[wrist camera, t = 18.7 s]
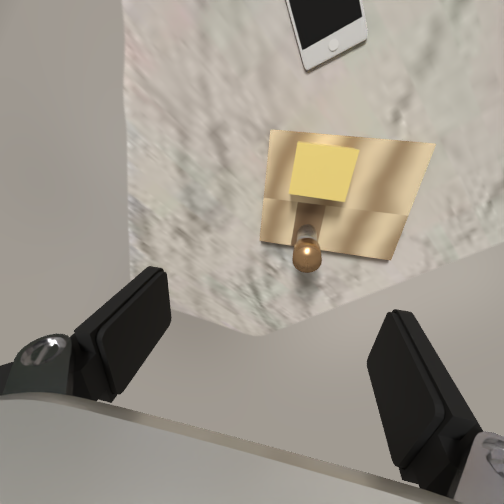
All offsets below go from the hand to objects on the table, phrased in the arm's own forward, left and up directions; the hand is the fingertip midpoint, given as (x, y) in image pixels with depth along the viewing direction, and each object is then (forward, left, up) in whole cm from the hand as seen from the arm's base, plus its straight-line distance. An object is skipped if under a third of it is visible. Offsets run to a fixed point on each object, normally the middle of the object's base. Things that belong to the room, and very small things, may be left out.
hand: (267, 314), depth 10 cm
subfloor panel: (-6, +1, -28) cm, 29 cm away
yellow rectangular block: (-3, -3, -27) cm, 27 cm away
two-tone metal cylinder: (-3, +6, -27) cm, 28 cm away
